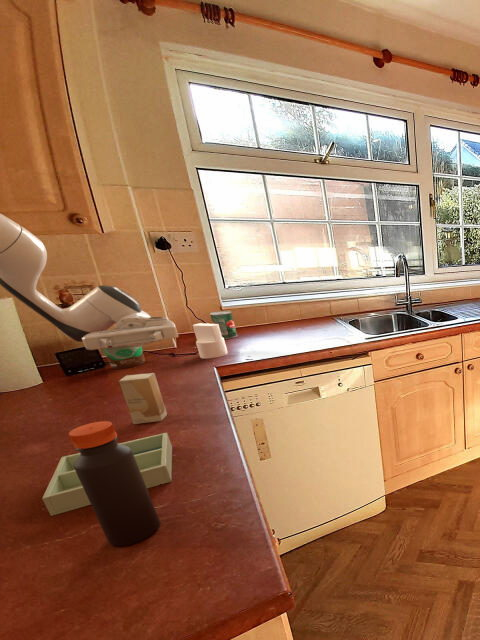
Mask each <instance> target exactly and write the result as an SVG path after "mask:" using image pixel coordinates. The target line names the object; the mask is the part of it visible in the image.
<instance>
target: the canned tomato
mask: <svg viewBox="0 0 480 640" xmlns="http://www.w3.org/2000/svg"><path fill="white" fill-rule="evenodd" d="M209 315H210V318H211V324H218V325H219V328H220V332H221V335H222V337H223V338H224V340H228V339H229V340H230V339H233V338H236V337H238V333H237V329H236V325H235V321H234V317H233V314H232V311H231V310H220V311H215V312H214V311H213V312H210V313H209Z"/></svg>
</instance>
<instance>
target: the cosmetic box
mask: <svg viewBox="0 0 480 640" xmlns="http://www.w3.org/2000/svg"><path fill="white" fill-rule="evenodd" d="M118 383H119V386H120V389H121V390H122V394H123V397H124V400H125V403H126V405H127V409H128V411H129V415H130V418H131V420H132V424H134V425H140V424H146V423H147V424H148V423H155V422H162V421H163V420H164V419H165V418H166V417H167V415H168V412H167V409H166V405H165V403H164V399H163V396H162V393H161V389H160V386H159V382H158V380H157V376H156V373H155V372H150V373H138V374H127V375H125V376H123V377H122V378H121V379H119V380H118Z"/></svg>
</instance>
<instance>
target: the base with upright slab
mask: <svg viewBox="0 0 480 640" xmlns="http://www.w3.org/2000/svg"><path fill="white" fill-rule="evenodd" d="M192 328H193V331H194V332H193V333H194V335H195V338H196V341H195V345H196V348H197V351H198V356H199V357H200V359H206V360H207V359H216V358H220V357H225V356H227V355H228V353H229V352H228V348H227V344H226V341H225V339H224V338H223V337H222V335H221V332H220V328H219V325H218V324H213V323H201V322H198V323H194V324H192Z"/></svg>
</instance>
